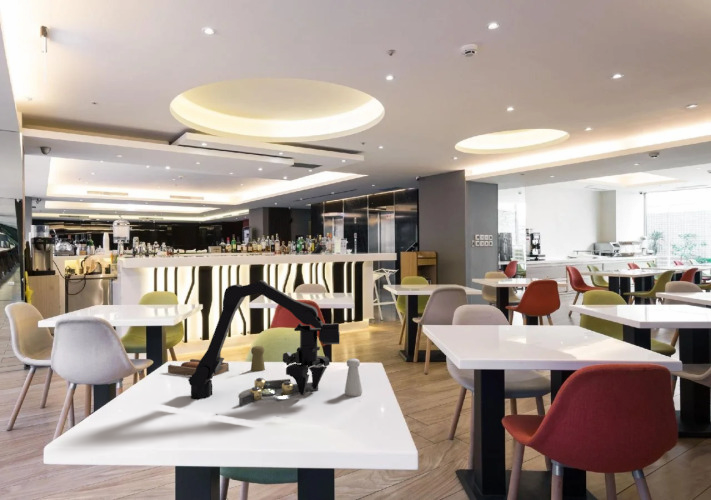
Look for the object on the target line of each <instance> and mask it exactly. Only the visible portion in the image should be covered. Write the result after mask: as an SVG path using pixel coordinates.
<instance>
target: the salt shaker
mask: <svg viewBox="0 0 711 500" xmlns="http://www.w3.org/2000/svg"><path fill="white" fill-rule="evenodd" d="M360 362H361V361H360V360H359V358H354V357H353V358H349V359H347V360H346V366H347V374H346V379H345V381H346V382H345V388H344V394H345V395H346V396H348V397H359V396H362V394H363V388H362V383H361V378H360V373H359V367H360V364H361V363H360Z"/></svg>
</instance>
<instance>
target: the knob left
mask: <svg viewBox="0 0 711 500" xmlns="http://www.w3.org/2000/svg"><path fill="white" fill-rule="evenodd" d="M286 381H290V382H291V383H292V381H291V378H286V379H285V378H284V379H272V380H265V379H264V378H263V377H258V378H256V379H255V380H254V387H259V388H260V389H261V390H263V389H275V388H282V384H283V383H284V382H286Z"/></svg>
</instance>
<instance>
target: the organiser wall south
mask: <svg viewBox="0 0 711 500" xmlns="http://www.w3.org/2000/svg"><path fill="white" fill-rule="evenodd" d="M229 371H230V370H229V363H228V364H223V365H221V369H220V370H219V371H218V372H217V373H215V374H214V375H213V377H215V376H217V375H220V374H224V373H227V372H229Z"/></svg>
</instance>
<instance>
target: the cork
mask: <svg viewBox="0 0 711 500" xmlns="http://www.w3.org/2000/svg"><path fill="white" fill-rule="evenodd" d="M250 349H251V351H250V353H251V354H252V358H251V364H250V365H251V367H250V371H251V372H264V371H265V370H266V368H265V367H266V366H265V361H264V354H265V347H264V346H263V345H262V346H261V345H254V346H253V347H252V348H250Z"/></svg>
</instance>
